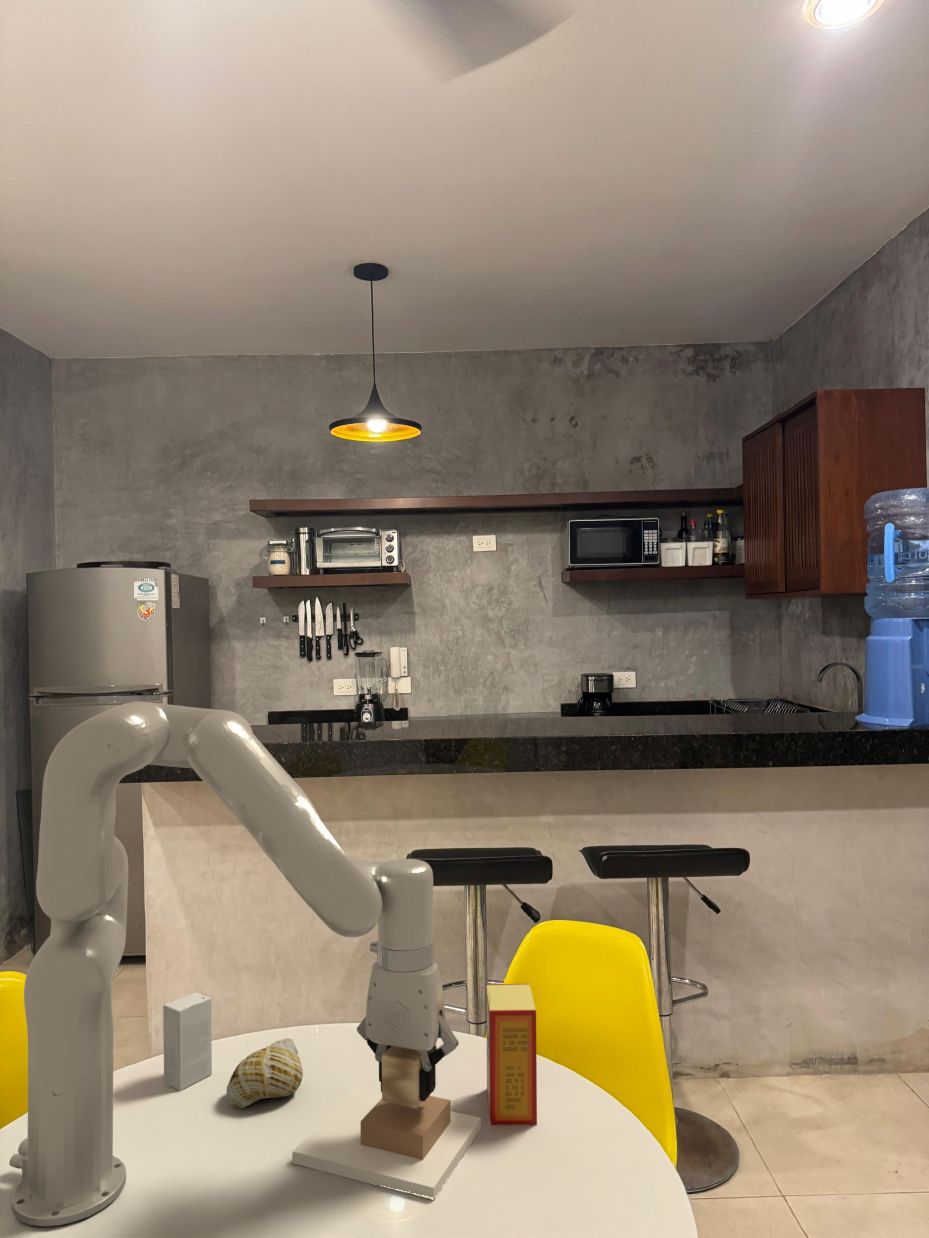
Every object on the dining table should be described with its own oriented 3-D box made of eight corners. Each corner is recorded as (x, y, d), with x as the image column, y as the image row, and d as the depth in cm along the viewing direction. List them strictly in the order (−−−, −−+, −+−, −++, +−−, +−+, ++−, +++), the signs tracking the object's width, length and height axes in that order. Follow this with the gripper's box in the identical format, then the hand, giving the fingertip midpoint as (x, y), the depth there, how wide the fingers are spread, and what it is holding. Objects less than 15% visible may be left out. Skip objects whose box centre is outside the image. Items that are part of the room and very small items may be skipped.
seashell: (209, 1103, 122) (229, 1027, 126) (251, 1105, 129) (268, 1034, 134) (264, 1117, 117) (283, 1038, 122) (304, 1118, 124) (320, 1044, 129)
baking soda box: (486, 1089, 126) (486, 981, 127) (530, 1088, 126) (529, 981, 127) (490, 1125, 117) (489, 1008, 117) (536, 1124, 117) (536, 1008, 117)
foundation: (292, 1163, 109) (292, 1127, 109) (353, 1100, 123) (353, 1069, 123) (433, 1200, 101) (433, 1162, 101) (481, 1129, 116) (480, 1095, 116)
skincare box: (195, 1067, 133) (195, 990, 134) (212, 1075, 131) (212, 997, 131) (161, 1083, 128) (162, 1004, 129) (178, 1092, 126) (179, 1011, 126)
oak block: (382, 1100, 111) (381, 1054, 111) (398, 1082, 116) (398, 1038, 116) (416, 1108, 109) (415, 1061, 110) (431, 1089, 114) (431, 1044, 114)
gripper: (336, 956, 113) (337, 1093, 112) (453, 973, 107) (455, 1119, 106) (363, 938, 120) (364, 1067, 119) (475, 953, 113) (476, 1089, 113)
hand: (407, 1090), depth 113 cm, fingers closed on oak block, 5 cm apart
